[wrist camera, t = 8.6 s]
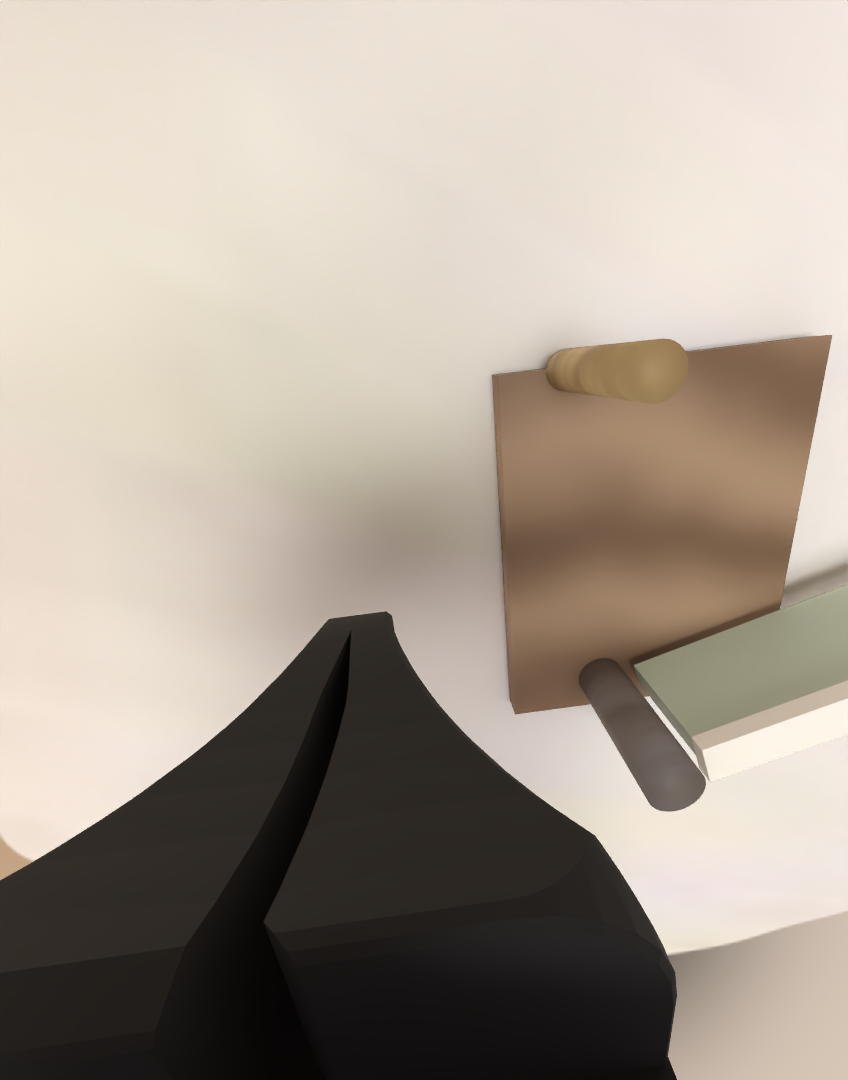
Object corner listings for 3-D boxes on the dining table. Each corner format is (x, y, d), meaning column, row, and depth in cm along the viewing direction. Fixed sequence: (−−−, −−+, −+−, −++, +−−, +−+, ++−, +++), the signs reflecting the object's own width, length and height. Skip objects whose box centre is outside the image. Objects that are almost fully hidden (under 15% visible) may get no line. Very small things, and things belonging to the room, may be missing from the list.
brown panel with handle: (750, 667, 23) (896, 789, 16) (510, 699, 22) (559, 837, 16) (811, 318, 17) (1074, 288, 10) (491, 357, 17) (555, 351, 10)
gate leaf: (638, 687, 21) (710, 782, 16) (629, 660, 20) (702, 750, 15) (888, 594, 20) (1042, 665, 15) (887, 563, 19) (1047, 626, 14)
